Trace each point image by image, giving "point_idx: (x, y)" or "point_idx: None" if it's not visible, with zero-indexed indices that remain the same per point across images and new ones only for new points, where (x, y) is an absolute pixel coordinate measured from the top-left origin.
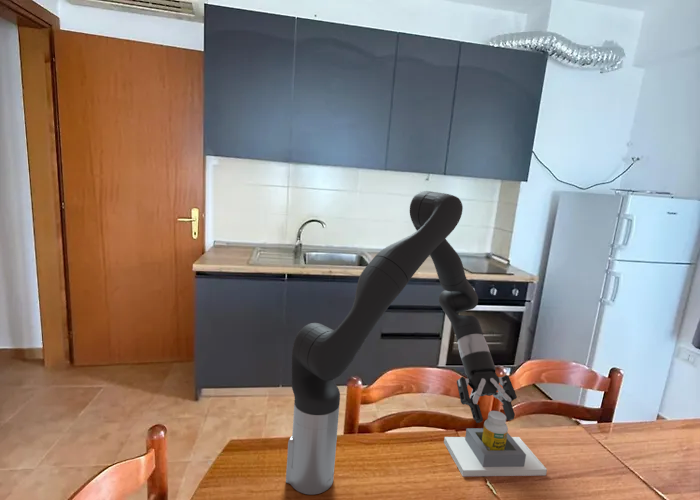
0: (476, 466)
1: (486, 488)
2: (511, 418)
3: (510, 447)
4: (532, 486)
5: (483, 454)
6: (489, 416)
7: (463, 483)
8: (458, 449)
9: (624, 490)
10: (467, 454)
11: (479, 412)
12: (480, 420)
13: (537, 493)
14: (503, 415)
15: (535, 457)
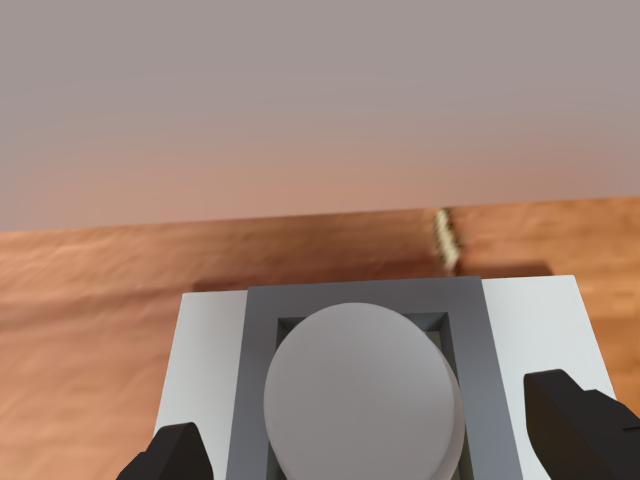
0: (498, 302)
1: (467, 230)
2: (194, 426)
3: None
4: (285, 247)
5: (480, 288)
6: (452, 391)
7: (561, 249)
8: None
9: (8, 245)
10: None
11: (600, 425)
12: (555, 370)
13: (288, 219)
14: (288, 385)
15: (172, 369)
